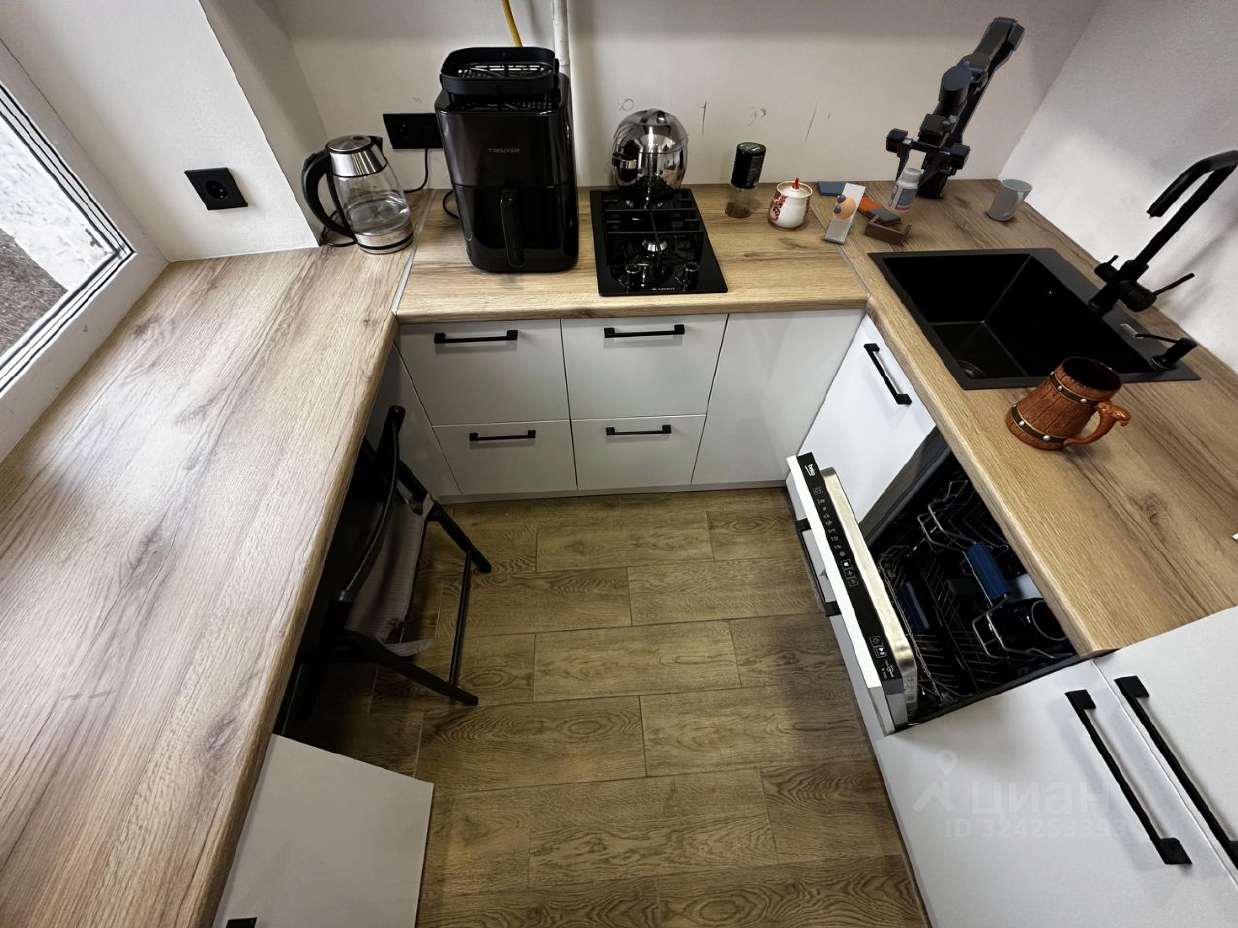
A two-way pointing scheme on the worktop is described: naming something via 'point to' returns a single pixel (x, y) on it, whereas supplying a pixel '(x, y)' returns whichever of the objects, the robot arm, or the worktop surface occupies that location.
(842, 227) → the white dotted panel
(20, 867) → the worktop surface
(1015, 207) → the cup
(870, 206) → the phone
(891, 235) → the brown wooden tray
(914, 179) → the pill bottle
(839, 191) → the seat mat
